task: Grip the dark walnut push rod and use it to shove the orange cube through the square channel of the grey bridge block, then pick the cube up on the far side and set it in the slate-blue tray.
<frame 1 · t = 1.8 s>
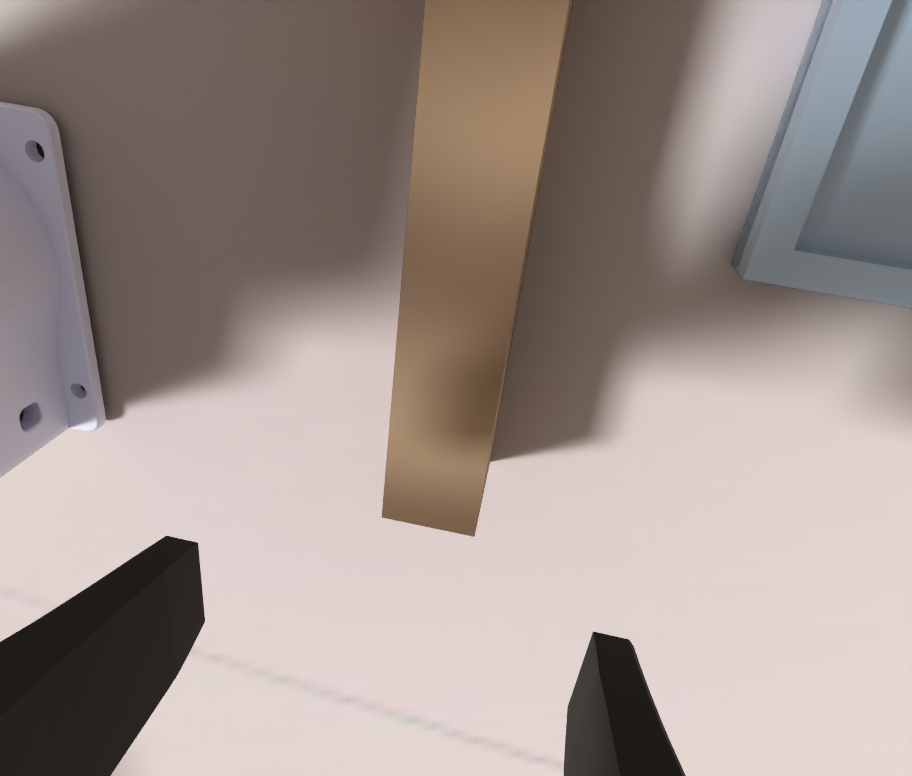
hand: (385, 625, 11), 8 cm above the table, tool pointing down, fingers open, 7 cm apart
push rod: (482, 238, 16), on the table
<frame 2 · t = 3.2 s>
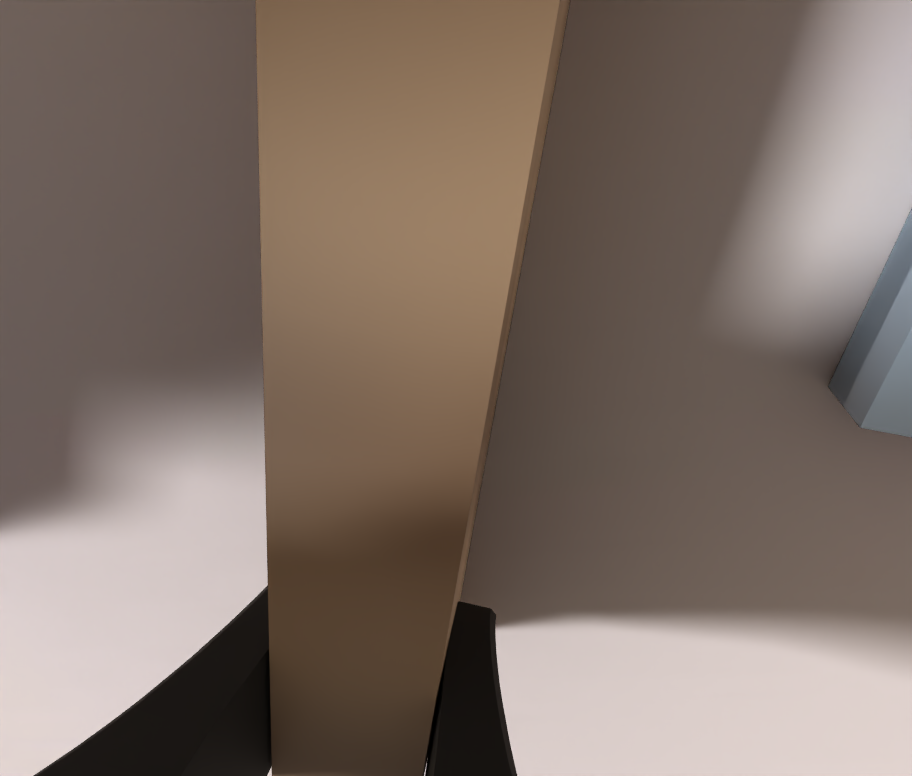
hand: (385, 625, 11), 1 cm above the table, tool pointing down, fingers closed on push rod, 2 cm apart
push rod: (432, 340, 10), on the table, touching gripper
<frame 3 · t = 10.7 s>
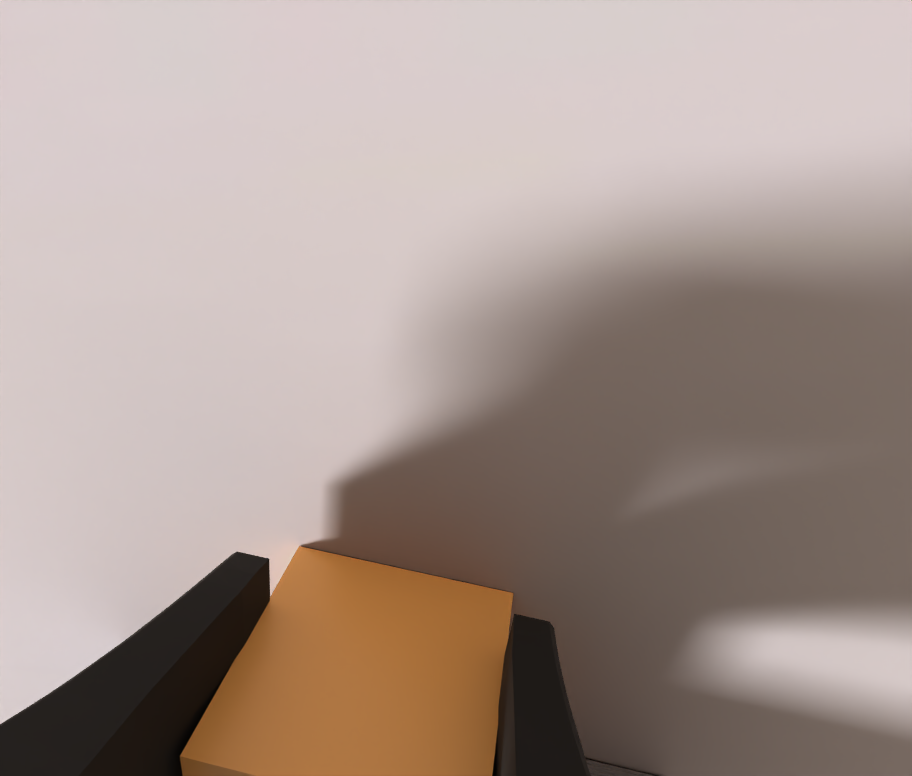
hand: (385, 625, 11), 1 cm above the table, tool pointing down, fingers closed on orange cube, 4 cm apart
grey bridge block: (379, 772, 16), on the table
orange cube: (396, 637, 13), on the table, touching gripper
when the fingers open (4 cm above the table, at t = 15.6 s): orange cube drops 1 cm, resting on tray.
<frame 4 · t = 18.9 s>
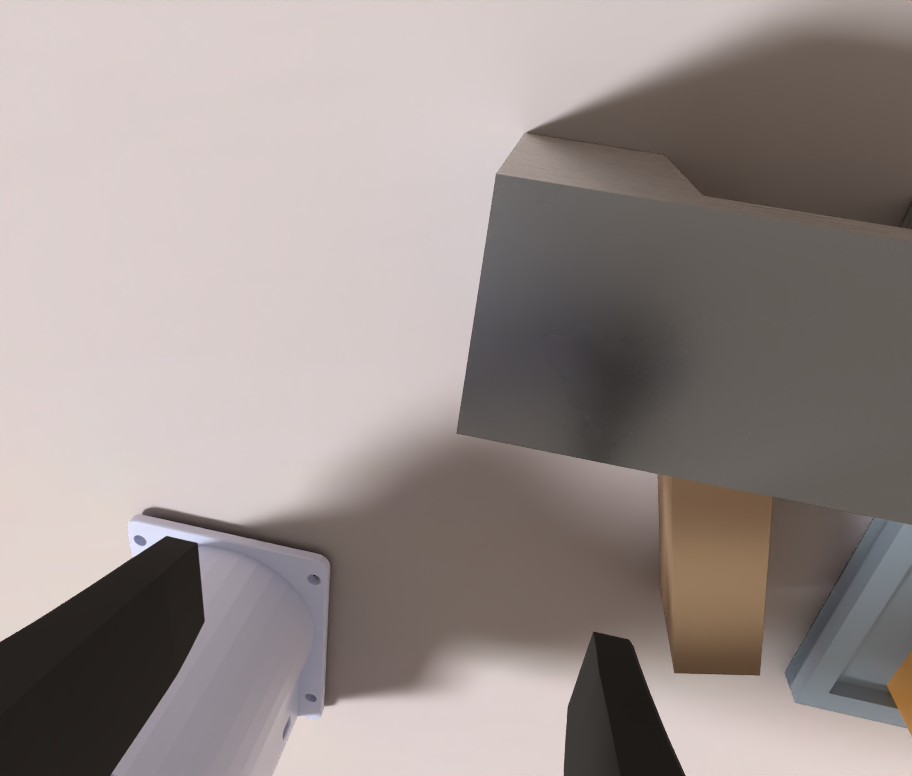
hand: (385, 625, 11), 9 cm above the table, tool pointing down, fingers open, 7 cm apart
grey bridge block: (751, 272, 17), on the table
push rod: (697, 425, 19), on the table
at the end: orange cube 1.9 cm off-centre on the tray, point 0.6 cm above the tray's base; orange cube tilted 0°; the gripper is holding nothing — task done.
